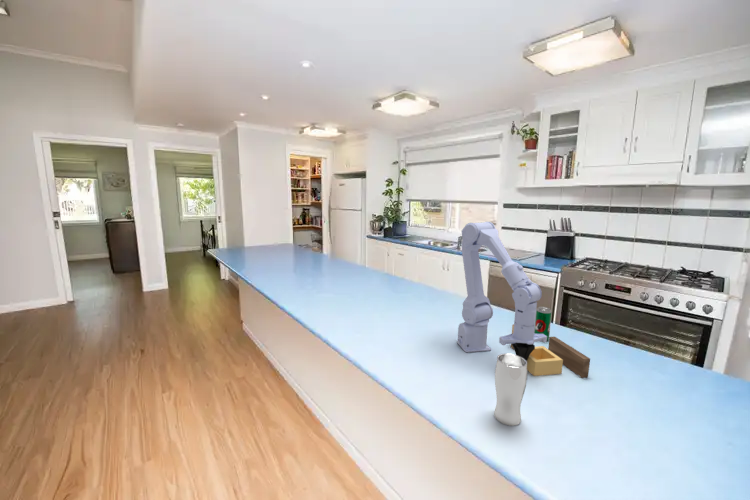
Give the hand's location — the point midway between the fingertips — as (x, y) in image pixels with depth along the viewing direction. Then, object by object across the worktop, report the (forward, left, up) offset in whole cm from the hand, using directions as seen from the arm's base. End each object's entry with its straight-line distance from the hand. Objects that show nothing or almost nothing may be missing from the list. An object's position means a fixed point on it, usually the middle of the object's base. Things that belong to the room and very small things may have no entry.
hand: (521, 364), depth 100 cm
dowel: (+7, +13, -1) cm, 15 cm away
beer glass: (-16, -20, -2) cm, 26 cm away
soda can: (+20, +18, -2) cm, 27 cm away
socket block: (+6, 0, -1) cm, 6 cm away
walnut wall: (+16, 0, -1) cm, 16 cm away
